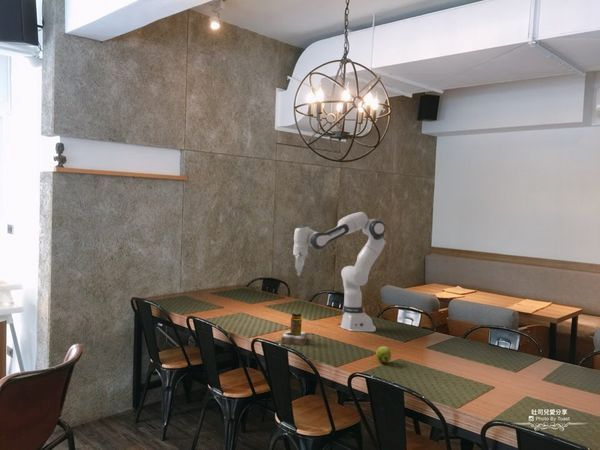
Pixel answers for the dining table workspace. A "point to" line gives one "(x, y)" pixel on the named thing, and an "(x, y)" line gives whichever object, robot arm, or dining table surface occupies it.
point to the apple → (383, 354)
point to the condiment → (295, 325)
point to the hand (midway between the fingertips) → (299, 274)
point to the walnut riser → (294, 339)
